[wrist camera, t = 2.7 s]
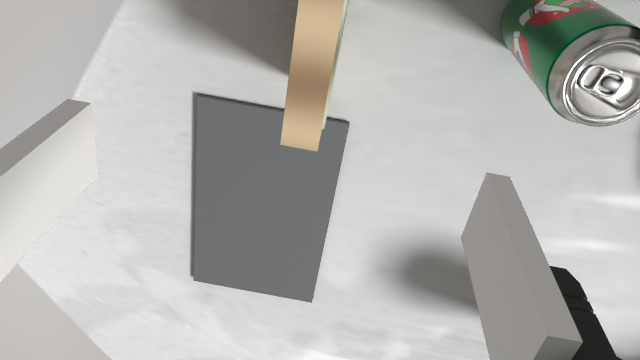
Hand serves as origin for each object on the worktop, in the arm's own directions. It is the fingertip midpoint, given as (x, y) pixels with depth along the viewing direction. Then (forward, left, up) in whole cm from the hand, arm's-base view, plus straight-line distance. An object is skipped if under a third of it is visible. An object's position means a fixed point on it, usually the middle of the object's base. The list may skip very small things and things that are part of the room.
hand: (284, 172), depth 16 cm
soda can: (-2, +14, -21) cm, 25 cm away
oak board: (0, 0, -21) cm, 21 cm away
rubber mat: (+18, -3, -21) cm, 28 cm away
